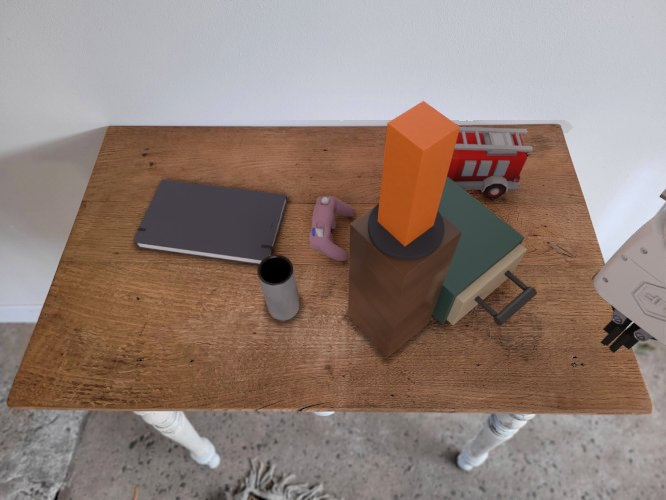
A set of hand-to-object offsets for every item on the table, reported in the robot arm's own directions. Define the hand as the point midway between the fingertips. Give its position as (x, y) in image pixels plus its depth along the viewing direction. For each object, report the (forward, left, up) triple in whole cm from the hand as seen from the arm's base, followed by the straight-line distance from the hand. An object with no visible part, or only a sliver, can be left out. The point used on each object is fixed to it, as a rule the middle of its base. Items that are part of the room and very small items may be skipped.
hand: (614, 339), depth 51 cm
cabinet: (+23, 0, -14) cm, 27 cm away
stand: (+21, +12, -14) cm, 27 cm away
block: (+21, +11, +9) cm, 25 cm away
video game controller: (+37, +9, -14) cm, 40 cm away
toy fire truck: (+32, -15, -14) cm, 38 cm away
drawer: (+19, 0, -13) cm, 23 cm away
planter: (+32, +22, -14) cm, 41 cm away
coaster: (+21, +12, +8) cm, 25 cm away
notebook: (+51, +22, -14) cm, 57 cm away
